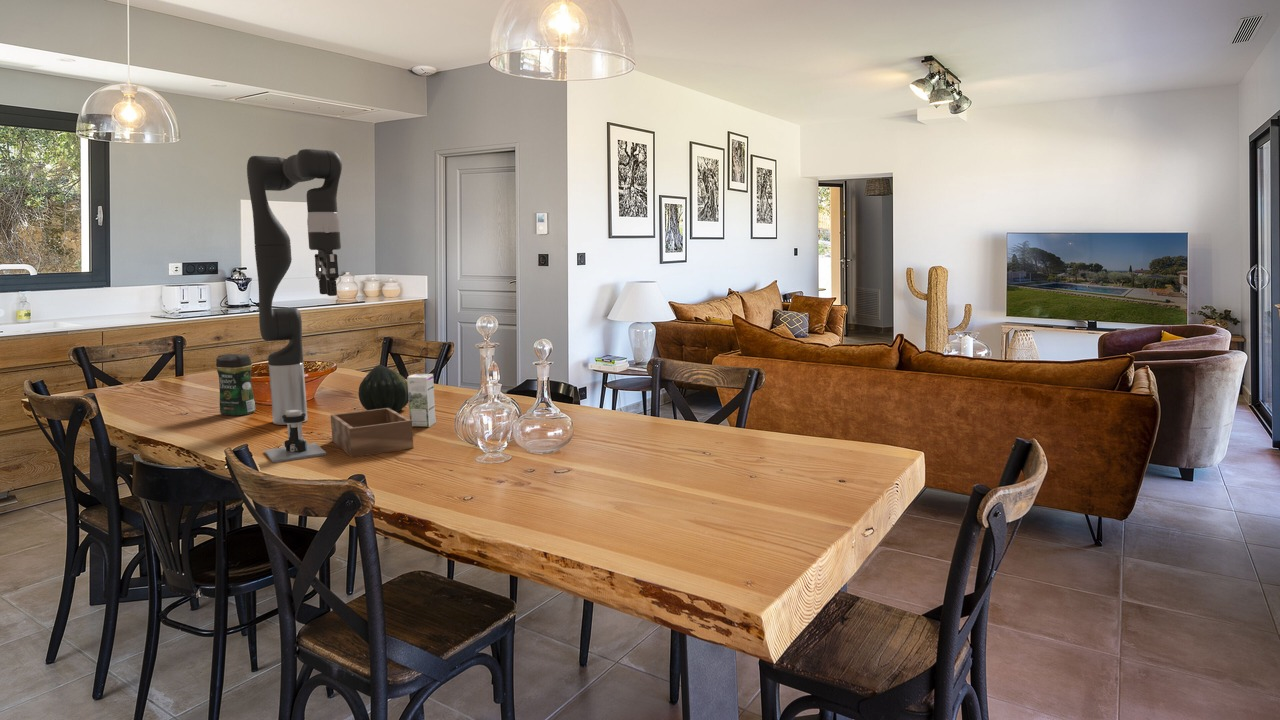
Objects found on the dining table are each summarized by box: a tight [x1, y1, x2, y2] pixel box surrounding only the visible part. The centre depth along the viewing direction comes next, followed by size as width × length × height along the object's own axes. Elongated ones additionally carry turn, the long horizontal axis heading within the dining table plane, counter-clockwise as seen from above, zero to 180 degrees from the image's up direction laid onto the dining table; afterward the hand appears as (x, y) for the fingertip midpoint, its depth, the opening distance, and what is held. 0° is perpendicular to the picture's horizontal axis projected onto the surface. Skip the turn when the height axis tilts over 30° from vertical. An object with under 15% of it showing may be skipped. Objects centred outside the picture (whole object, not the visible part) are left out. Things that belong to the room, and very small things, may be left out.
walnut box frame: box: [330, 408, 414, 458], centre depth 202 cm, size 20×15×7 cm
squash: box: [358, 364, 409, 413], centre depth 244 cm, size 14×15×15 cm
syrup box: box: [406, 373, 437, 428], centre depth 223 cm, size 6×6×14 cm
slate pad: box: [264, 442, 327, 464], centre depth 194 cm, size 12×12×1 cm
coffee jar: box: [215, 353, 256, 417], centre depth 242 cm, size 10×8×19 cm
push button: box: [280, 410, 307, 452], centre depth 194 cm, size 7×5×10 cm
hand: (328, 295), depth 202 cm, fingers open, 8 cm apart
